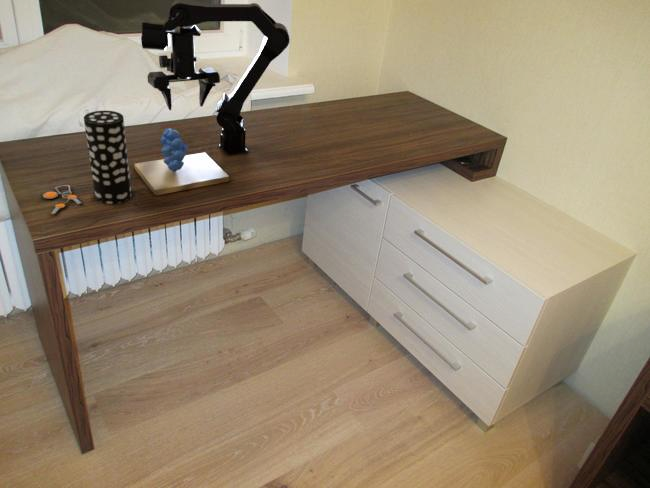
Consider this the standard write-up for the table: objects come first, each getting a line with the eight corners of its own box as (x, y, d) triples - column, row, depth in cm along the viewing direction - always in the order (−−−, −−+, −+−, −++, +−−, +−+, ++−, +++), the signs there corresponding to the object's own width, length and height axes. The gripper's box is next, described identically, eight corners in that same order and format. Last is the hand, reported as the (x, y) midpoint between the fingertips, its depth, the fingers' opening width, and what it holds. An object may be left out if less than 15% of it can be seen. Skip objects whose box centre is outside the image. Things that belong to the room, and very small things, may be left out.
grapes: (198, 177, 142) (197, 134, 135) (173, 182, 138) (171, 138, 132) (180, 159, 150) (178, 117, 143) (156, 163, 146) (153, 121, 139)
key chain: (40, 190, 131) (40, 187, 131) (73, 185, 135) (73, 182, 134) (49, 215, 122) (49, 212, 122) (84, 209, 126) (83, 206, 125)
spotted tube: (100, 186, 136) (89, 109, 125) (134, 188, 137) (127, 111, 126) (91, 203, 129) (78, 123, 118) (127, 204, 130) (118, 125, 119)
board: (204, 157, 156) (204, 152, 155) (229, 181, 145) (229, 176, 144) (134, 168, 145) (134, 163, 145) (155, 195, 135) (155, 190, 134)
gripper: (204, 41, 155) (205, 95, 163) (138, 45, 145) (143, 101, 154) (220, 52, 147) (220, 108, 156) (152, 56, 138) (157, 115, 146)
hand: (185, 107), depth 153 cm, fingers open, 9 cm apart
